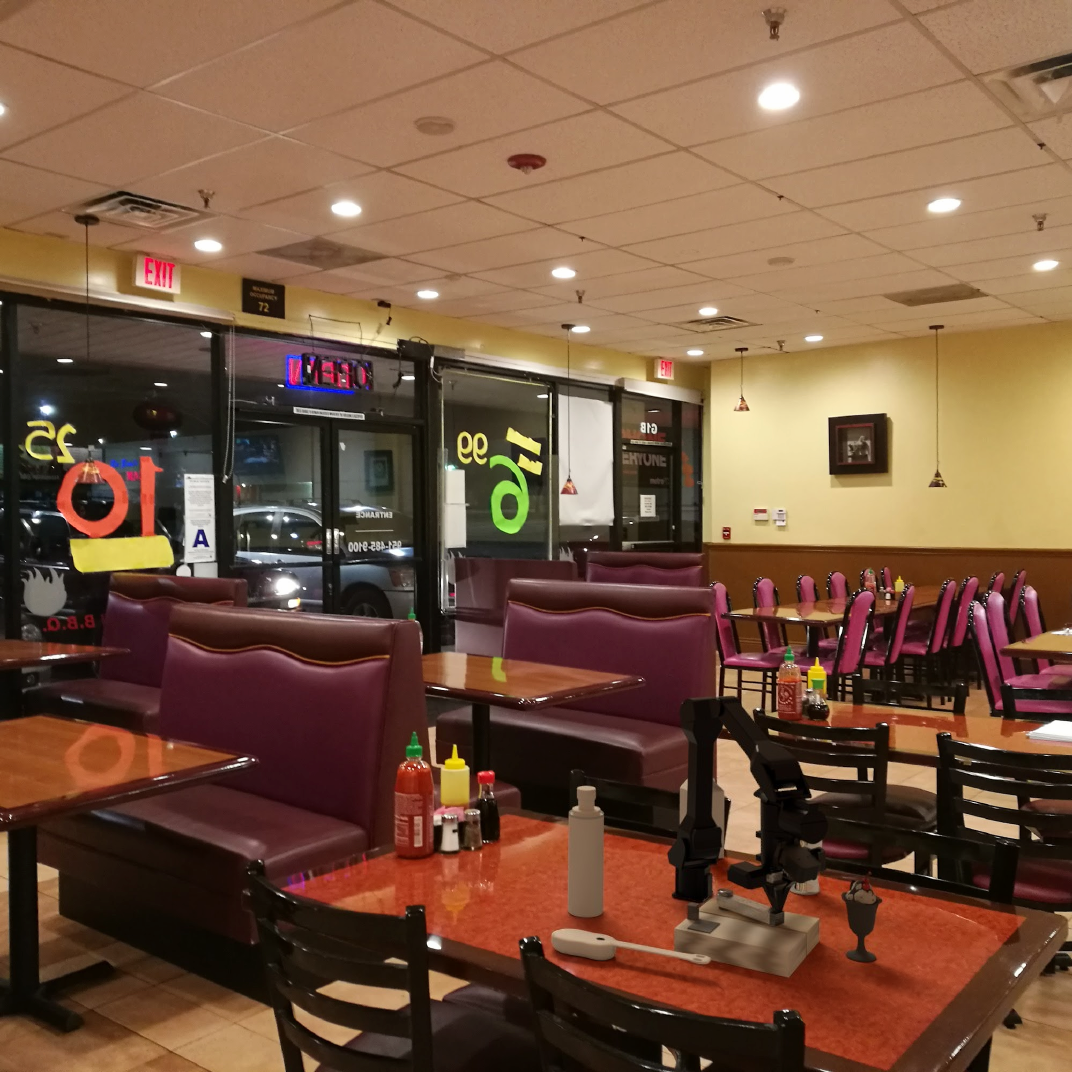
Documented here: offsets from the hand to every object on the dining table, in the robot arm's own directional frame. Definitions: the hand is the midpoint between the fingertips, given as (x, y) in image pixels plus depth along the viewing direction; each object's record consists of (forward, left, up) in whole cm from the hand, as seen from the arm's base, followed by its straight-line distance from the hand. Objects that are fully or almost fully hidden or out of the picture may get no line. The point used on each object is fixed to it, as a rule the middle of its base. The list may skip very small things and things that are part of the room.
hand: (777, 915), depth 183 cm
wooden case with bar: (-4, -4, -5) cm, 7 cm away
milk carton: (-30, +40, -5) cm, 50 cm away
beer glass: (-4, +30, -5) cm, 31 cm away
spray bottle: (-36, -4, -5) cm, 37 cm away
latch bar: (-5, -1, -1) cm, 5 cm away
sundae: (+14, +2, -5) cm, 15 cm away
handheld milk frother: (-19, -21, -5) cm, 28 cm away
